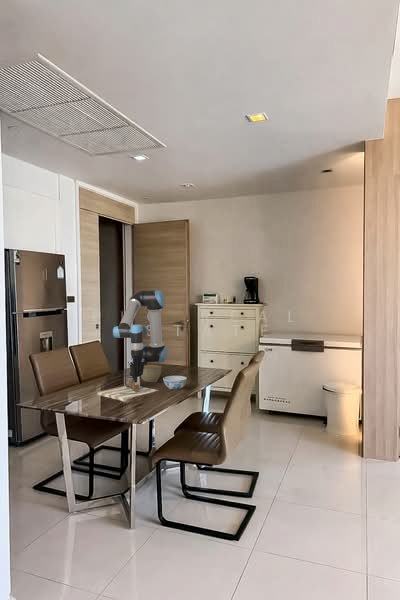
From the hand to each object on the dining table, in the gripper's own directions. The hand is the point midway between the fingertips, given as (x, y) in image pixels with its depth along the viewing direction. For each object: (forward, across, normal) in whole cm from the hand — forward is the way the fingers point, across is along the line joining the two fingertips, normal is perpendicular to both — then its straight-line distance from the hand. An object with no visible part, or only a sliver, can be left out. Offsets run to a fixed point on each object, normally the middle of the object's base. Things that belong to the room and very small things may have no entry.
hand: (137, 386), depth 258 cm
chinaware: (+4, +18, -15) cm, 24 cm away
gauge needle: (+1, -1, +3) cm, 4 cm away
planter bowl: (+4, +25, +15) cm, 30 cm away
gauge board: (+3, -6, +1) cm, 7 cm away
